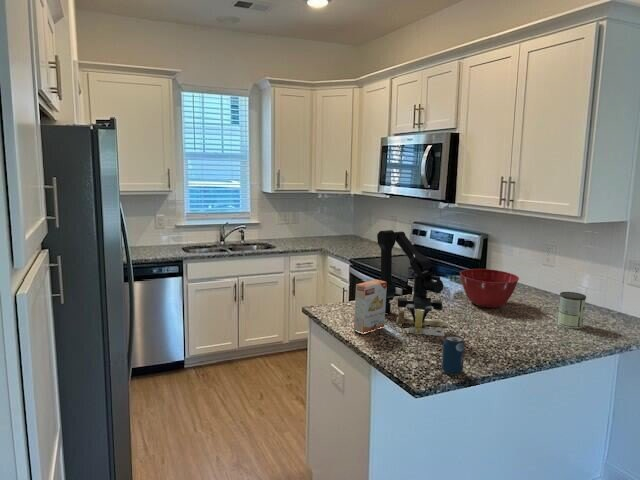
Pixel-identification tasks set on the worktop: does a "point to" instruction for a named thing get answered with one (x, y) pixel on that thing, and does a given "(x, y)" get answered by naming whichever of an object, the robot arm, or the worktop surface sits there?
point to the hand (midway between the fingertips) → (418, 322)
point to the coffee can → (571, 310)
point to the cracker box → (370, 305)
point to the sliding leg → (418, 319)
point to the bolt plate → (427, 331)
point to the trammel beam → (402, 320)
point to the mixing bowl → (488, 286)
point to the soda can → (453, 355)
